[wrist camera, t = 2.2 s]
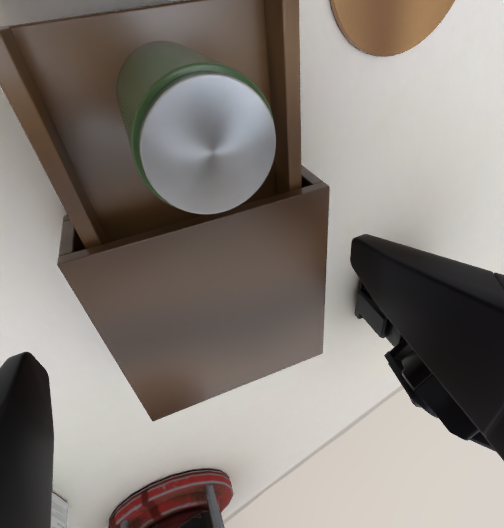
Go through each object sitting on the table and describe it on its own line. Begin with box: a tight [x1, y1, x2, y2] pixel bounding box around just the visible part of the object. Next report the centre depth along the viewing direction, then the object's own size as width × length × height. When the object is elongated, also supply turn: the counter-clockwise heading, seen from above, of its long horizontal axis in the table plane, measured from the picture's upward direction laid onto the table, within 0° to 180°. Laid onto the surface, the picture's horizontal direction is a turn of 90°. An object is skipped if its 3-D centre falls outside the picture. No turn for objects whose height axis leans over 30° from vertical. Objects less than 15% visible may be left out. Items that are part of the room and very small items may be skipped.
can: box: [116, 41, 276, 214], centre depth 13 cm, size 5×5×8 cm
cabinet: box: [57, 165, 329, 421], centre depth 24 cm, size 15×14×5 cm
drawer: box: [0, 0, 302, 249], centre depth 16 cm, size 18×13×3 cm
